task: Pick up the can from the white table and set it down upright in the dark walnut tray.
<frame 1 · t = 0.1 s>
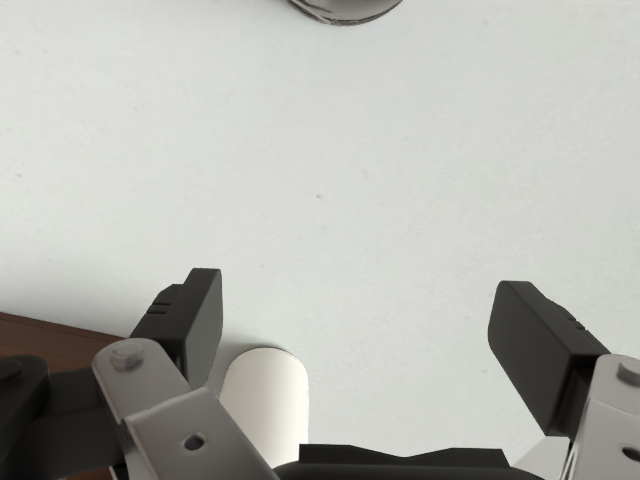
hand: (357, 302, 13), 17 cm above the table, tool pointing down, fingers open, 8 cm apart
tray: (69, 412, 36), on the table
can: (267, 376, 35), on the table
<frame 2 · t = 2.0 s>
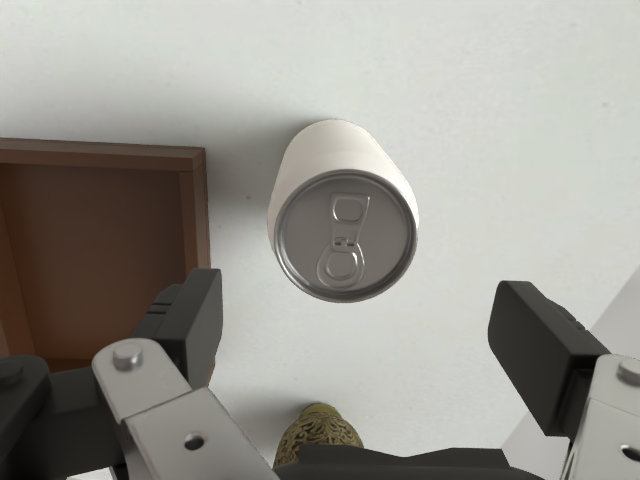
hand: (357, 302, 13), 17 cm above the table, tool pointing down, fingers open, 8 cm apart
tray: (111, 263, 30), on the table
can: (332, 169, 28), on the table
cup: (319, 415, 36), on the table
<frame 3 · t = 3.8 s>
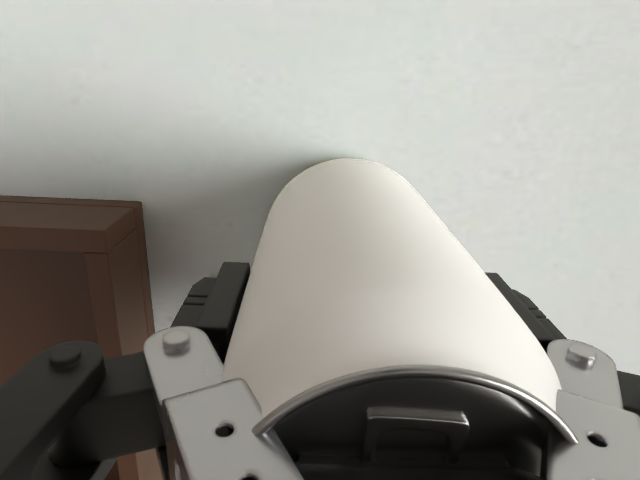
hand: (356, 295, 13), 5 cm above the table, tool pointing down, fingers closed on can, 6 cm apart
tray: (7, 370, 20), on the table
can: (345, 233, 18), on the table, touching gripper
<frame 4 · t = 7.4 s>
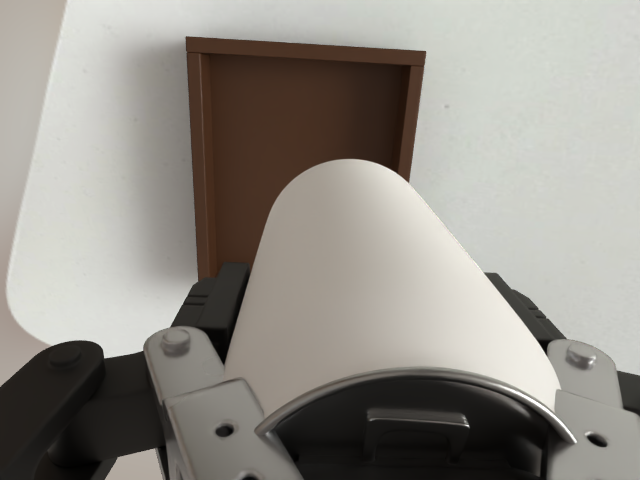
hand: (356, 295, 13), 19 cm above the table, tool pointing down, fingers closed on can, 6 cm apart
tray: (302, 175, 31), on the table
can: (346, 234, 18), point 14 cm above the table, touching gripper
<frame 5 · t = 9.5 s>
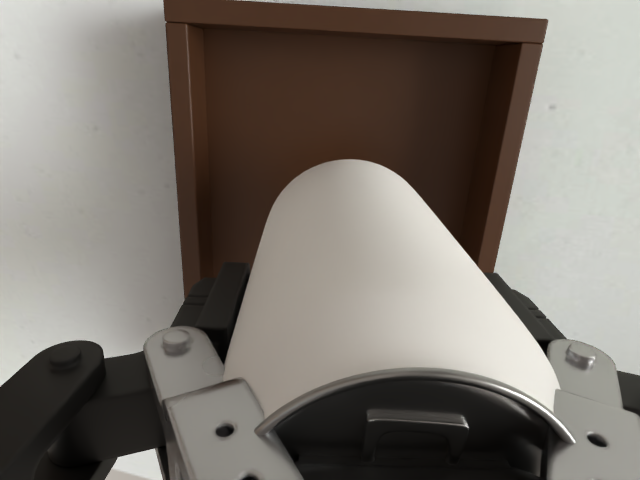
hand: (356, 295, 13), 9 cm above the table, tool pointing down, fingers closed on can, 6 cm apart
tray: (337, 206, 22), on the table
can: (345, 234, 18), point 4 cm above the table, touching gripper
when the fingers open (6 cm above the table, at t = 11.0 s): can stays where it is, resting on tray.
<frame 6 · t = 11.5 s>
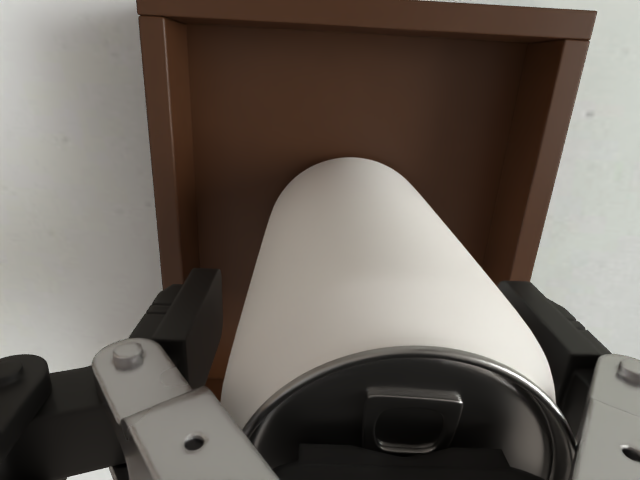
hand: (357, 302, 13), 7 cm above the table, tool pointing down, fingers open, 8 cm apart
tray: (343, 226, 19), on the table
can: (346, 231, 18), point 1 cm above the table, touching tray
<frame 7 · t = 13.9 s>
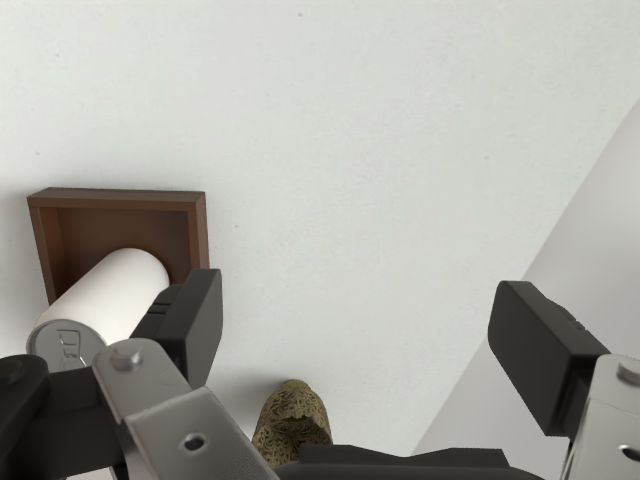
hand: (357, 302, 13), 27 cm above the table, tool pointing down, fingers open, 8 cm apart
tray: (138, 275, 42), on the table
can: (136, 277, 41), point 1 cm above the table, touching tray
cup: (295, 389, 47), on the table
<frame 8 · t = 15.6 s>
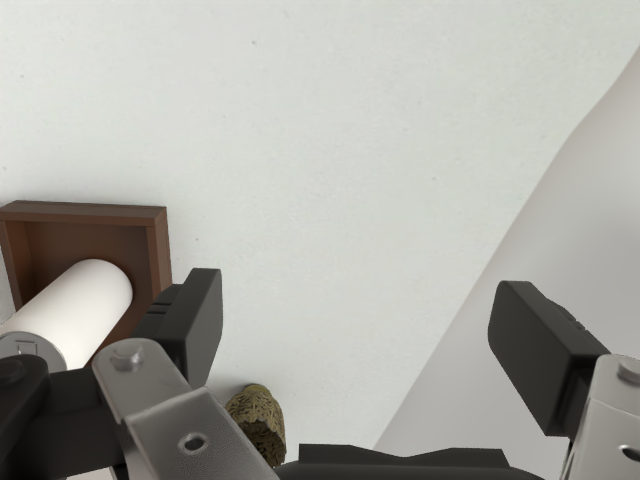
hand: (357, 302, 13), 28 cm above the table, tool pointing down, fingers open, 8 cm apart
tray: (103, 283, 44), on the table
can: (101, 286, 43), point 1 cm above the table, touching tray
cup: (256, 393, 49), on the table
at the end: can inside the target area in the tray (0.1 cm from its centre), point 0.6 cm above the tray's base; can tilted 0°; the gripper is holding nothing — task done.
